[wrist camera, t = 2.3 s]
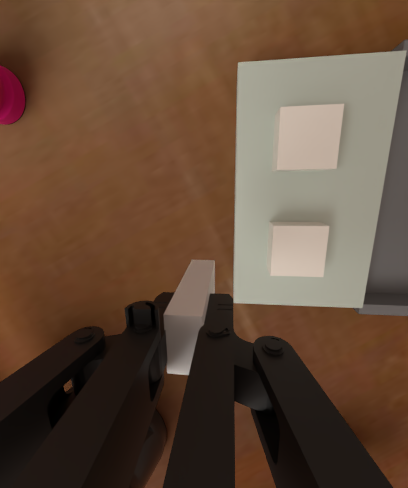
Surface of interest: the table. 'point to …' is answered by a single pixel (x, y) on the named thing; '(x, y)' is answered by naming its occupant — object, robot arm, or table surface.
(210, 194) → the table surface
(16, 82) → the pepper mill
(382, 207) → the tray
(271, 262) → the tile
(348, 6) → the table surface
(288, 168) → the tile
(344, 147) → the board
